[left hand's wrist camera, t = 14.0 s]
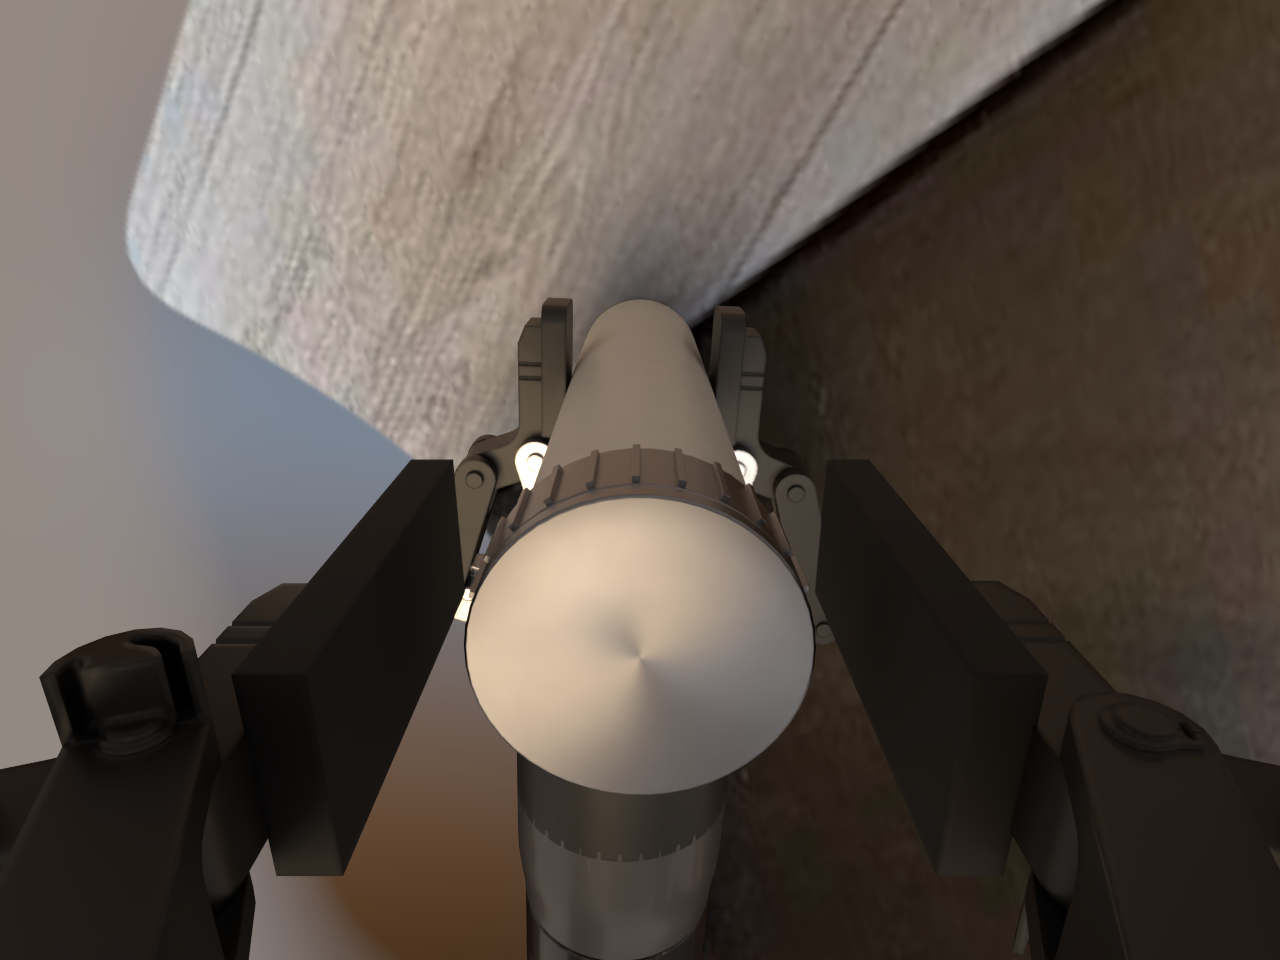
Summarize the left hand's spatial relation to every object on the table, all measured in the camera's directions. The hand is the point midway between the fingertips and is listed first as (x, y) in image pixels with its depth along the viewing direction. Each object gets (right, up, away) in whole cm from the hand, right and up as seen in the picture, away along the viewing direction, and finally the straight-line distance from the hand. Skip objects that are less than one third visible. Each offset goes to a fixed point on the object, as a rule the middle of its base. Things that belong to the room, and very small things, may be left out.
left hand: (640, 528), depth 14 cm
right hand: (0, +6, +8) cm, 10 cm away
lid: (0, -1, -4) cm, 4 cm away
